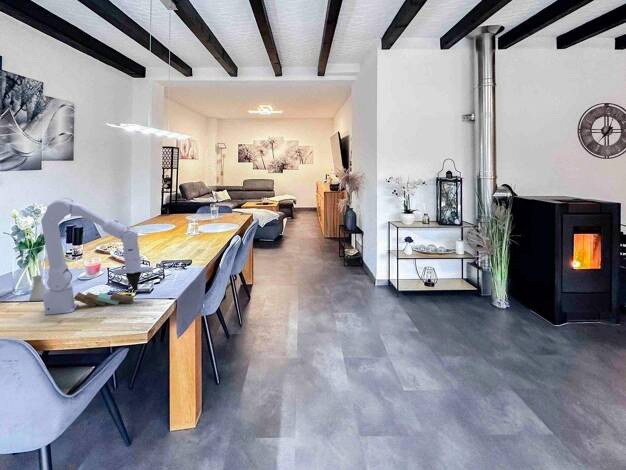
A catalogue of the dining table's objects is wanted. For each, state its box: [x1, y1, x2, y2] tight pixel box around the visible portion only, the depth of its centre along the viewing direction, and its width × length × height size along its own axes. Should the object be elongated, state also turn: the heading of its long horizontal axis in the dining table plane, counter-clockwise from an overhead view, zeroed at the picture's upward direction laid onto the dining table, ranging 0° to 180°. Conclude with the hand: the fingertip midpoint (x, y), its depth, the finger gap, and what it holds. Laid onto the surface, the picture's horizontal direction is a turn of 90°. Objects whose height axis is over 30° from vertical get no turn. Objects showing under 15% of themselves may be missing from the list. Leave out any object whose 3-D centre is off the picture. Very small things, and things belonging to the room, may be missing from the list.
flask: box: [29, 274, 48, 302], centre depth 157 cm, size 7×7×10 cm
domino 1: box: [74, 291, 97, 308], centre depth 149 cm, size 2×4×8 cm
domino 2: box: [84, 291, 107, 307], centre depth 151 cm, size 2×4×8 cm
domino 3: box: [97, 292, 120, 306], centre depth 152 cm, size 2×4×8 cm
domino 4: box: [110, 292, 134, 304], centre depth 153 cm, size 2×4×8 cm
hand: (135, 290), depth 154 cm, fingers closed
